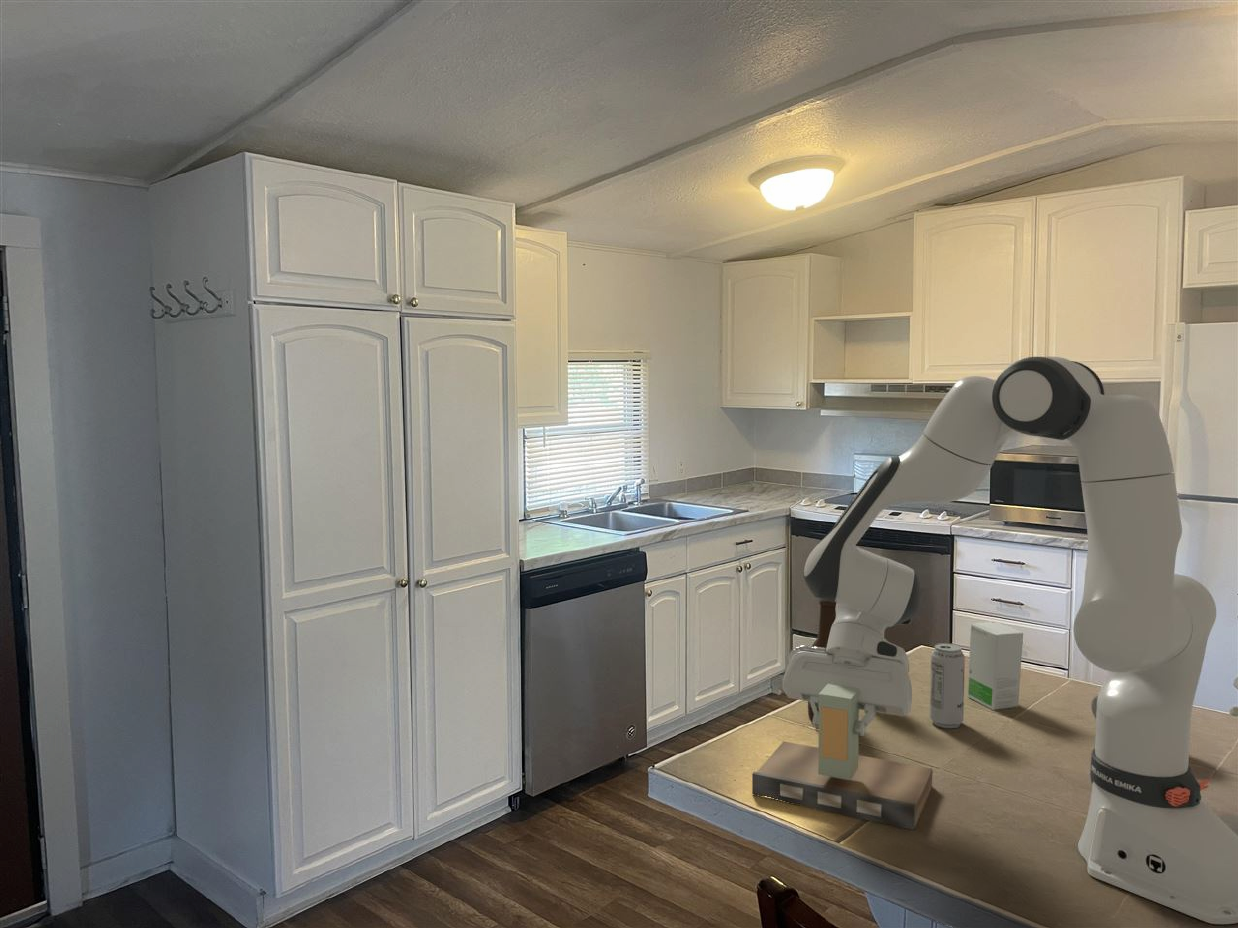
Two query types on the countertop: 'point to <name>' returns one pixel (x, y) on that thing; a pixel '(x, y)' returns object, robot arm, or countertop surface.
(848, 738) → the sage carton
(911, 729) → the countertop surface
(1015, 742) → the countertop surface
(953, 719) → the energy drink can
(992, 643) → the skincare box
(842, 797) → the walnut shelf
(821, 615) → the beer bottle
